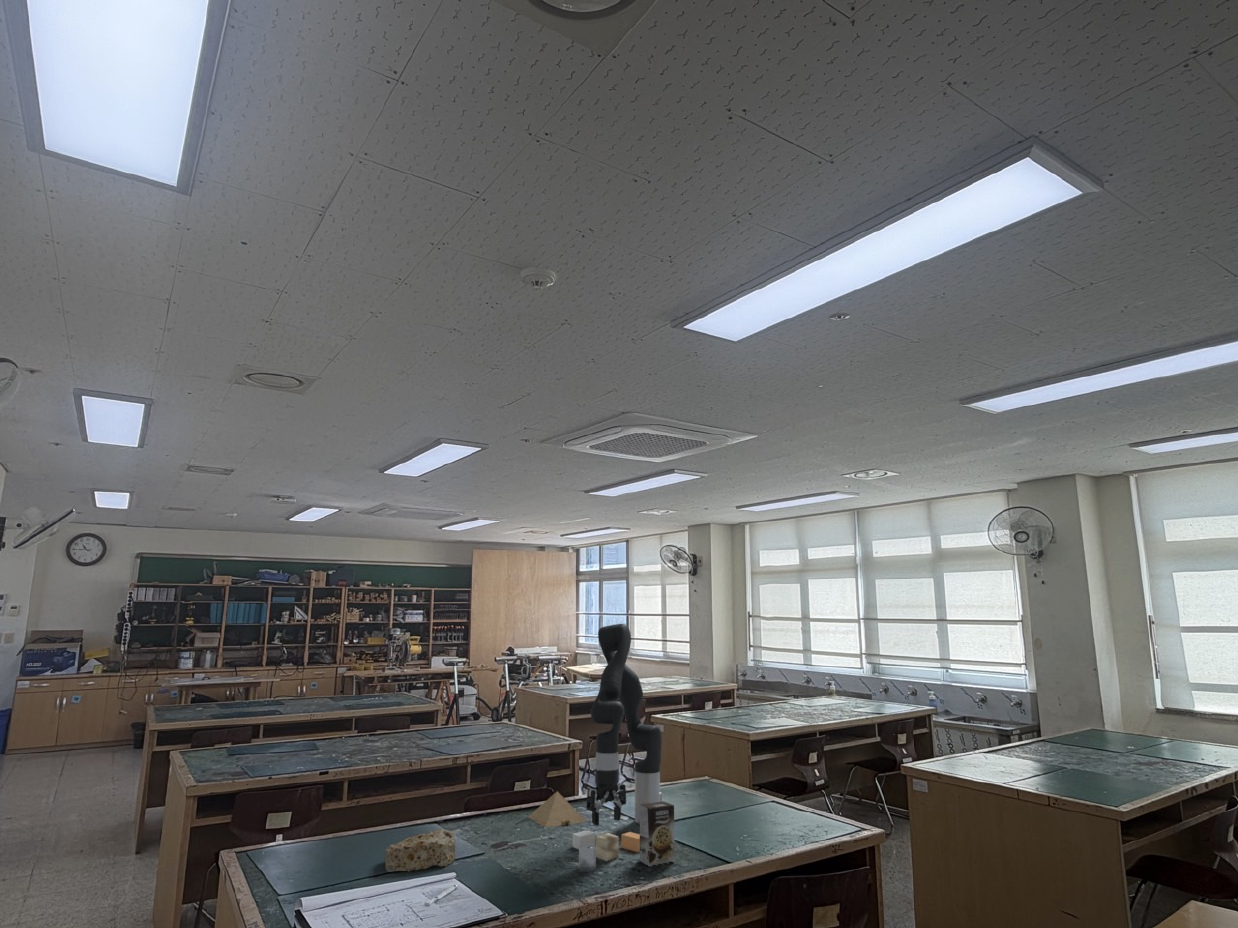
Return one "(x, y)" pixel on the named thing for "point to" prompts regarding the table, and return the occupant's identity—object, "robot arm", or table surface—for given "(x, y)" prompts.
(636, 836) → the orange plastic block
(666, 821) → the coffee box
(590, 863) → the brushed metal cylinder
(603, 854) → the maple block
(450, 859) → the rock
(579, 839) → the off-white plastic block
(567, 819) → the model pyramid
